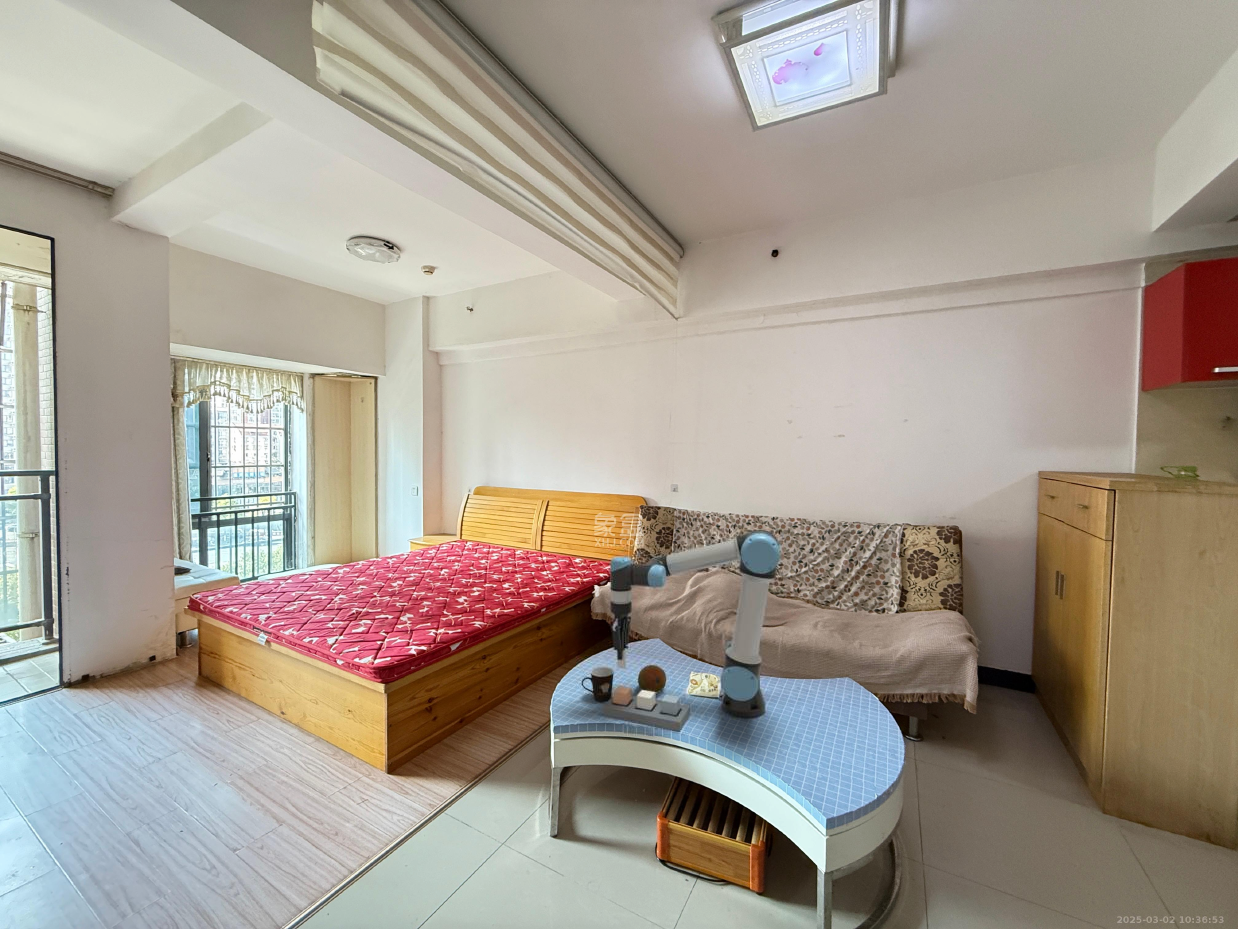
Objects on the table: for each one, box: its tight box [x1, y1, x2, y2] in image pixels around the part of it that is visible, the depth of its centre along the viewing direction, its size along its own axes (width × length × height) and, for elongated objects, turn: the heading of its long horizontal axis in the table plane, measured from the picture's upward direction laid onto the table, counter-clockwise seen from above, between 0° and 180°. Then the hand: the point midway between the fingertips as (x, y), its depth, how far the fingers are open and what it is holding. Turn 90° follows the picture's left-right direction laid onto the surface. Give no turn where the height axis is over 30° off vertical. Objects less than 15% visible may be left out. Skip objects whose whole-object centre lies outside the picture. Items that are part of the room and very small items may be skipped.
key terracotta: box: [612, 685, 633, 706], centre depth 178 cm, size 5×5×4 cm
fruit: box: [637, 664, 667, 694], centre depth 193 cm, size 12×13×10 cm
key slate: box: [661, 693, 681, 715], centre depth 171 cm, size 5×5×4 cm
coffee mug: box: [581, 666, 615, 703], centre depth 188 cm, size 12×9×10 cm
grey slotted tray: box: [602, 694, 691, 732], centre depth 175 cm, size 28×12×3 cm, turn 66°
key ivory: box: [636, 689, 657, 711], centre depth 175 cm, size 5×5×4 cm
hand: (621, 667), depth 179 cm, fingers closed
